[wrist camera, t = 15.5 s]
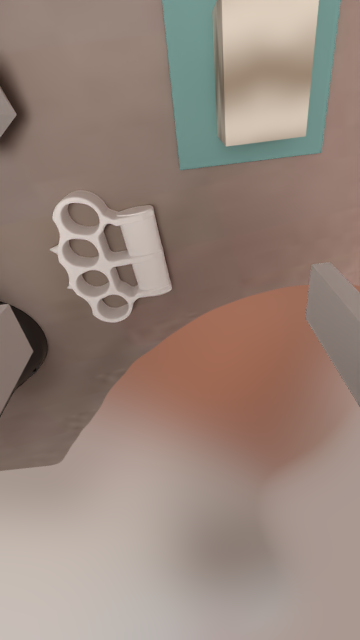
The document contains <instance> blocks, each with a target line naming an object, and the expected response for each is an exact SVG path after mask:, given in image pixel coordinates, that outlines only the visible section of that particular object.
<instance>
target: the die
mask: <svg viewBox="0 0 360 640" xmlns="http://www.w3.org/2000/svg"><path fill="white" fill-rule="evenodd" d="M16 115H17V114H16V113H15V111H14V109H13V107H12V106H11V104H10V102H9V100H8V99H7V97H6V95H5V93H4V92H3V90H2V88H1V86H0V137H1V135H2V134H3V133H4V131H5V130H6V129H7V127H8V126H9V125H10V123H11V122H12V121H13V119H14V118H15V117H16Z"/></svg>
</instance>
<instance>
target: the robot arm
mask: <svg viewBox="0 0 360 640" xmlns="http://www.w3.org/2000/svg"><path fill="white" fill-rule="evenodd" d="M306 320H307V322H308V323H309V325H310V327H311V328H312V330H313V331H314V333H315V335H316V336H317V338H318V340H319V341H320V343H321V344H322V346H323V348H324V349H325V351H326V353H327V354H328V356H329V358H330V359H331V361H332V362H333V364H334V366H335V367H336V369H337V371H338V372H339V374H340V375H341V377H342V379H343V380H344V382H345V384H346V385H347V387H348V389H349V390H350V392H351V394H352V395H353V397H354V398H355V400H356V402H357V403H358V405H359V407H360V293H359V292H358V291H357V290H356V289H355V287H354V286H353V285H352V284H351V283H350V282H349V281H348V280H347V279H346V278H345V277H344V276H343V275H342V274H341V273H340V272H339V271H338V270H337V269H336V268H335V267H334V266H333V265H332V264H331V263H330V262H328V263H320V264H312V265H311V274H310V282H309V291H308V300H307V309H306ZM46 354H47V341H46V338H45V336H44V334H43V332H42V330H41V329H40V327H39V326H38V325H37V324H36V323H35V321H33V320H32V319H31V318H30V317H29V316H28V315H26V314H25V313H23V312H22V311H20V310H18V309H16V308H14V307H12V306H10V305H9V304H4V303H1V302H0V417H1V415H2V413H3V411H4V409H5V407H6V405H7V404H8V402H9V400H10V398H11V396H12V394H13V393H14V391H15V390H16V389H17V388H18V387H19V386H21V385H22V384H23V383H24V382H25V381H26V380H27V379H28V378H29V377H31V376H32V375H33V374H35V373H36V372H37V371H38V369H39V368H40V366H41V365H42V363H43V361H44V359H45V357H46Z"/></svg>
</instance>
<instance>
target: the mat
mask: <svg viewBox="0 0 360 640" xmlns="http://www.w3.org/2000/svg"><path fill="white" fill-rule="evenodd" d="M216 1H217V0H162V3H163V12H164V22H165V31H166V41H167V51H168V60H169V70H170V79H171V89H172V98H173V108H174V118H175V127H176V137H177V146H178V156H179V165H180V170H185V169H193V168H201V167H210V166H218V165H226V164H234V163H242V162H250V161H258V160H266V159H275V158H283V157H291V156H299V155H307V154H315V153H321V152H322V144H323V136H324V128H325V120H326V112H327V104H328V97H329V89H330V81H331V73H332V65H333V57H334V49H335V42H336V34H337V26H338V18H339V10H340V2H341V0H319V6H318V16H317V27H316V37H315V47H314V57H313V67H312V78H311V88H310V98H309V108H308V119H307V129H306V136H304V137H297V138H289V139H281V140H273V141H265V142H258V143H250V144H242V145H234V146H225V145H224V144H223V142H222V141H221V140H220V139H219V137H218V136H217V117H216V93H215V68H214V44H213V20H212V11H213V8H214V6H215V4H216Z"/></svg>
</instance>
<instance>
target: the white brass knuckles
mask: <svg viewBox="0 0 360 640" xmlns="http://www.w3.org/2000/svg"><path fill="white" fill-rule="evenodd" d="M70 203H81V204H86V205H89V206H91V207H92V208H93V209H94V210H95V211H96V212H97V214H98V216H99V221H100V222H99V224H98V225H97V226H82V225H79V224H77V223H76V222H74V221H73V220H72V218H71V217H70V215H69V212H68V205H69V204H70ZM52 219H53V221H54V222H55V224H56V225H57V227H58V230H59V234H60V240H59V244H58V245H57V246H55V247H53V248H51V249H49V250H51V251H52V252H54V253H56V254H58V259H59V263H61V264H62V265H63V266H64V268H65V269H66V271H67V273H68V276H69V285H68V287H67V289H73V290H74V291H75V293H76V294H77V295H78V296H80V297H82V298H84V299H85V300H86V301H87V302H88V303H89V304H90V306H91V308H92V312H93V315H94V316H95V317H96V318H98V319H100V320H102V321H105V322H119V321H122V320H124V319H126V318H127V317H128V316H129V315H130V313H131V311H132V308H133V303H134V302H135V301H136V300H137V299H138V298H141V297H147V296H157V295H161V294H164V293H167V292H169V291H171V290H172V286H171V280H170V278H169V274H168V269H167V265H166V261H165V257H164V252H163V251H164V250H163V247H162V244H161V240H160V235H159V231H158V227H157V223H156V218H155V214H154V208H153V206H151V205H145V206H138V207H133V208H129V209H125V210H122V211H119V212H117V211H114V210H112V209H110V208H108V207H107V205H106V204H105V203H104V201H103V200H102V199H101V198H100V197H98V196H97V195H96V194H94V193H92V192H89V191H85V190H77V191H73V192H71V193H69V194H67V195H66V196H65V197H64V198H63V199H62V200H61V201H60V202H59V203H58V204H57V205H56V207H55V209H54V211H53V217H52ZM106 224H113V225H115V226H119V225H120V227H121V230H122V234H123V237H124V240H125V243H126V247H127V250H125V251H119V252H113V251H111V250H110V248H109V246H108V243H107V240H106V237H105V234H104V231H103V230H104V228H105V226H106ZM70 239H83V240H87V241H89V242H91V243H93V244H94V245H95V246H96V248H97V250H98V253H99V255H98V256H96V257H82V256H79V255H77V254H76V253H75V252H74V251H73V250H72V249H71V247H70V244H69V240H70ZM128 264H132V266H133V270H134V273H135V276H136V280H137V283H138V284H137V285H136V286H130V285H129V284H128V283H126V282H123V281H121V280H120V278H119V275H118V272H117V269H116V267H117V266H123V265H128ZM89 270H97V271H100V272H102V273H103V274H105V275H106V276H107V278H108V280H109V282H108V283H106V284H104V285H102V286H92V285H90V284H88V283H87V282H86V281H85V280H84V278H83V276H82V274H83V273H85V272H87V271H89ZM109 295H119V296H121V297H123V298H124V299H125V300H126V301H127V302H128V303H127V304H126V305H124V306H121V307H118V308H113V307H110V306H108V305H106V304H105V303H104V302H103V300H102V298H104V297H106V296H109Z"/></svg>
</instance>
